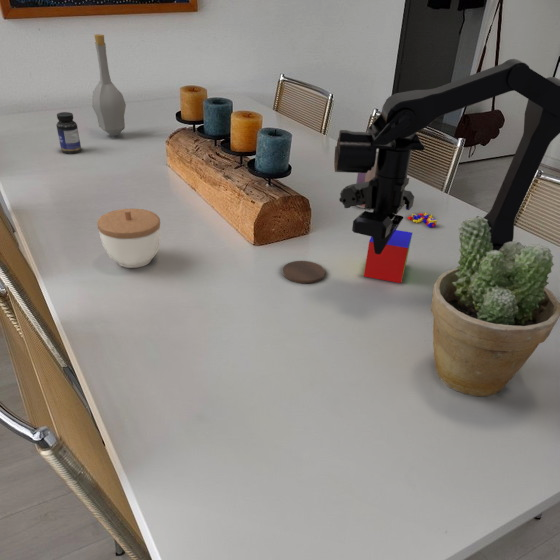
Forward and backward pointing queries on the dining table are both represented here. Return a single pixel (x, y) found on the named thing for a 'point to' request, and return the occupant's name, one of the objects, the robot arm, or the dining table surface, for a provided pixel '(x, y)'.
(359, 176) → the beverage can
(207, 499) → the dining table surface
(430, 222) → the building blocks
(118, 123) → the bottle
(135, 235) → the lidded bowl
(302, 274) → the coaster
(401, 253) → the cube
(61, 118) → the pill bottle
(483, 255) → the potted plant
